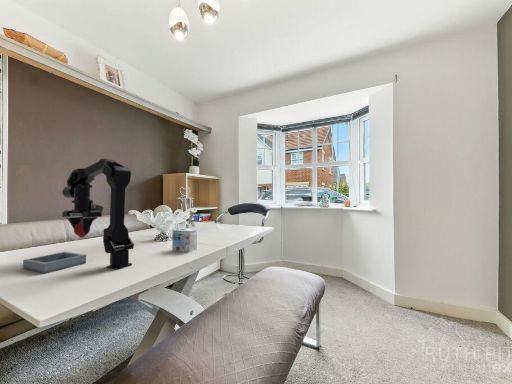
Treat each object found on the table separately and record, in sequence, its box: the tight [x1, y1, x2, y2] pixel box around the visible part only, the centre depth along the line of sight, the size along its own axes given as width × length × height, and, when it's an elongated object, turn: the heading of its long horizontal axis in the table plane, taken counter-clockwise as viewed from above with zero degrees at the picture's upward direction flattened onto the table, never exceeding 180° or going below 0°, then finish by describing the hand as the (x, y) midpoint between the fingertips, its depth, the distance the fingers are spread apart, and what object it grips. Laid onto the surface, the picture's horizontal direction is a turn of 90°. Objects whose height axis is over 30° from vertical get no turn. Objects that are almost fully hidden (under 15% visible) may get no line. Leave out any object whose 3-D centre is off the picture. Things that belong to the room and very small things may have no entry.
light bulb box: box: [171, 227, 198, 253], centre depth 119 cm, size 11×7×11 cm, turn 73°
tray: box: [22, 251, 87, 275], centre depth 91 cm, size 14×14×4 cm
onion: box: [73, 221, 91, 239], centre depth 102 cm, size 6×6×8 cm
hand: (82, 233), depth 102 cm, fingers closed on onion, 6 cm apart
